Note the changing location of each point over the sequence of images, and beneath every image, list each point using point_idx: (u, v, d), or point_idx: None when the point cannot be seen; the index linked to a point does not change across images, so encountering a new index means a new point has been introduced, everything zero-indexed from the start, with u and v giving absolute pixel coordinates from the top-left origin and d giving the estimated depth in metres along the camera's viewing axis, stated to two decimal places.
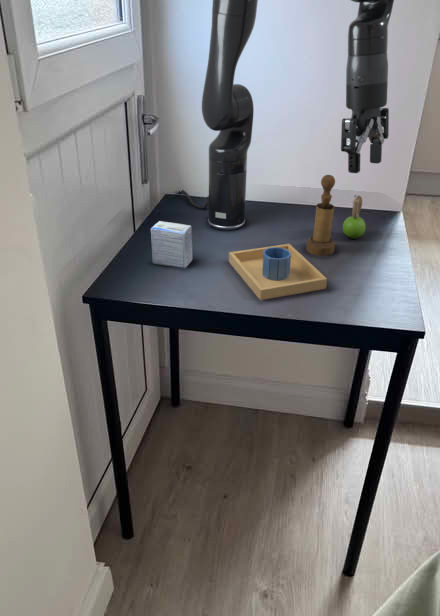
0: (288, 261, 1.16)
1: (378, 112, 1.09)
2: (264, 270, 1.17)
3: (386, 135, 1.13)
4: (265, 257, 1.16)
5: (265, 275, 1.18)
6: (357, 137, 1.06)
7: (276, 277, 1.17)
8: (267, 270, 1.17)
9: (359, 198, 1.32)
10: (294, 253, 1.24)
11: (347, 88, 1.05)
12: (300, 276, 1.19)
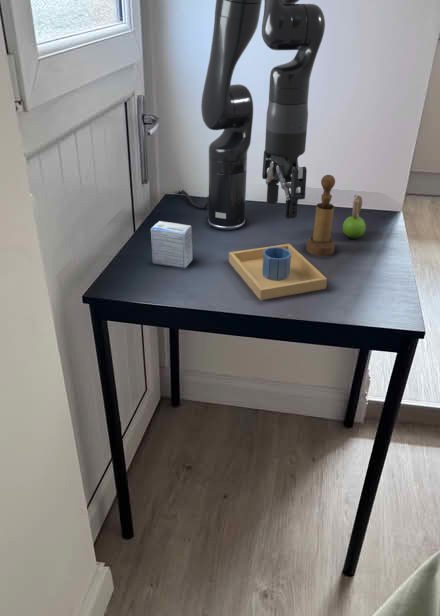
0: (288, 261, 1.16)
1: (285, 165, 1.04)
2: (264, 270, 1.17)
3: (290, 195, 1.04)
4: (265, 257, 1.16)
5: (265, 275, 1.18)
6: None
7: (276, 277, 1.17)
8: (267, 270, 1.17)
9: (359, 198, 1.32)
10: (294, 253, 1.24)
11: None
12: (300, 276, 1.19)
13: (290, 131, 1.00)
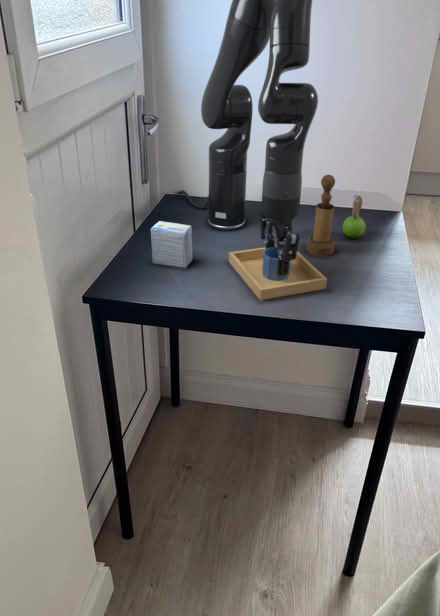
0: None
1: (280, 226, 1.11)
2: (264, 270, 1.17)
3: (282, 256, 1.12)
4: (265, 257, 1.16)
5: (265, 275, 1.18)
6: None
7: (276, 277, 1.17)
8: (267, 270, 1.17)
9: (359, 198, 1.32)
10: None
11: None
12: (300, 276, 1.19)
13: (285, 197, 1.07)
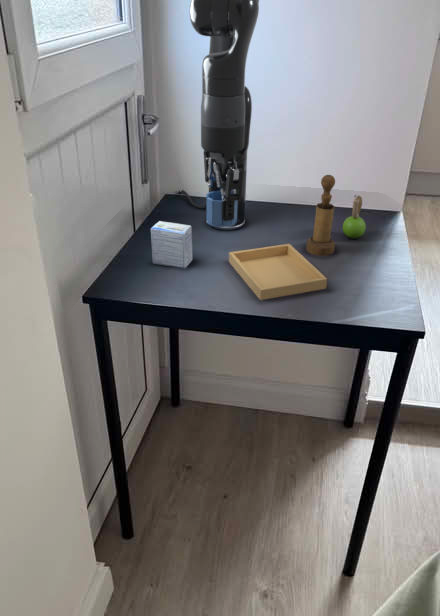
0: (234, 204, 1.02)
1: (222, 161, 0.96)
2: (208, 215, 1.03)
3: (225, 196, 0.98)
4: (208, 200, 1.02)
5: (209, 221, 1.04)
6: None
7: (220, 222, 1.02)
8: (211, 215, 1.03)
9: (359, 198, 1.32)
10: (294, 253, 1.24)
11: None
12: (300, 276, 1.19)
13: (225, 125, 0.93)
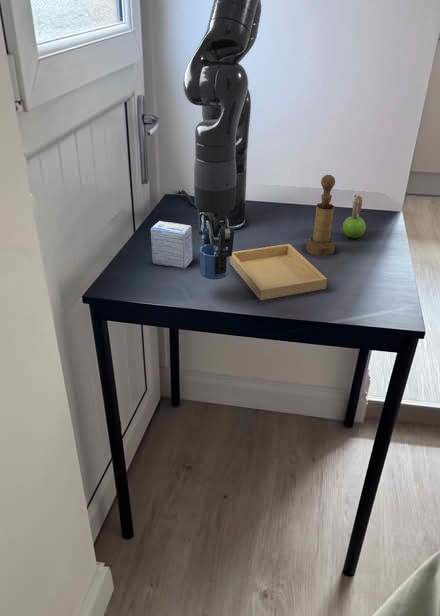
0: None
1: (214, 220, 1.01)
2: (201, 268, 1.08)
3: (217, 253, 1.02)
4: (201, 254, 1.07)
5: (202, 273, 1.08)
6: None
7: (213, 275, 1.07)
8: (204, 268, 1.07)
9: (359, 198, 1.32)
10: (294, 253, 1.24)
11: None
12: (300, 276, 1.19)
13: (216, 188, 0.98)
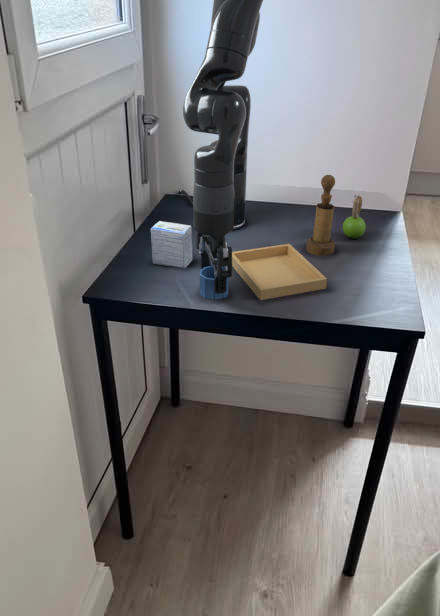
0: None
1: (212, 242, 1.04)
2: (201, 290, 1.11)
3: (217, 274, 1.04)
4: (201, 277, 1.09)
5: (202, 296, 1.11)
6: None
7: (213, 298, 1.10)
8: (204, 291, 1.10)
9: (359, 198, 1.32)
10: (294, 253, 1.24)
11: None
12: (300, 276, 1.19)
13: (215, 212, 1.00)
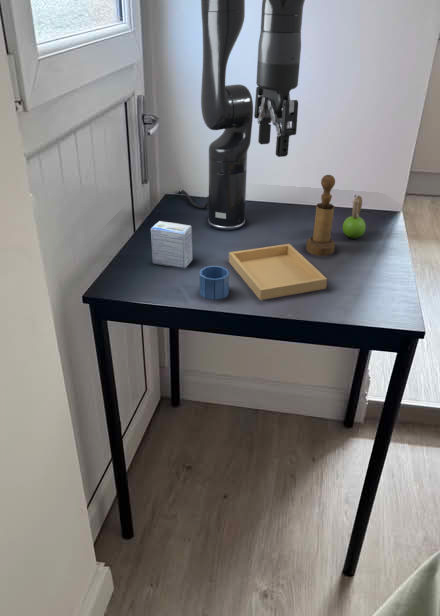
0: (225, 281, 1.09)
1: (277, 98, 1.01)
2: (201, 290, 1.11)
3: (281, 131, 1.01)
4: (201, 277, 1.09)
5: (202, 296, 1.11)
6: None
7: (213, 298, 1.10)
8: (204, 291, 1.10)
9: (359, 198, 1.32)
10: (294, 253, 1.24)
11: None
12: (300, 276, 1.19)
13: (282, 61, 0.97)
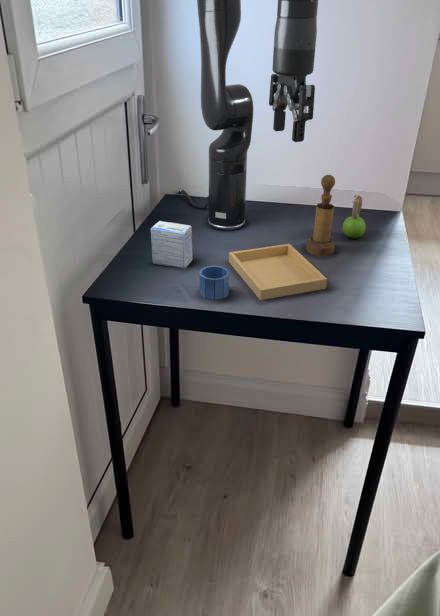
0: (225, 281, 1.09)
1: (293, 84, 1.02)
2: (201, 290, 1.11)
3: (298, 116, 1.02)
4: (201, 277, 1.09)
5: (202, 296, 1.11)
6: None
7: (213, 298, 1.10)
8: (204, 291, 1.10)
9: (359, 198, 1.32)
10: (294, 253, 1.24)
11: None
12: (300, 276, 1.19)
13: (298, 47, 0.98)
